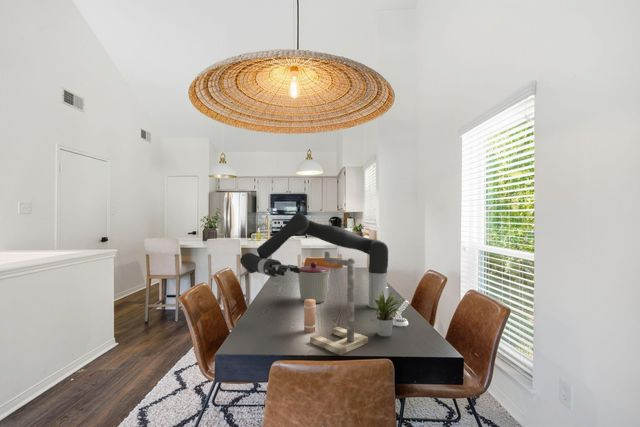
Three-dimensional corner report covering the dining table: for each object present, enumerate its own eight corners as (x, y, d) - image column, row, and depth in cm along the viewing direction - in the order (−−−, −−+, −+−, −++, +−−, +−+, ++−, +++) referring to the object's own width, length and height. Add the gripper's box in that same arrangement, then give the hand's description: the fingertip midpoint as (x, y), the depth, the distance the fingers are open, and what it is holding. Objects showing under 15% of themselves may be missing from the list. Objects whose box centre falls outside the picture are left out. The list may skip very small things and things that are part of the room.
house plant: (396, 345, 111) (396, 299, 111) (360, 337, 118) (360, 293, 118) (407, 333, 123) (408, 291, 123) (374, 326, 130) (374, 286, 130)
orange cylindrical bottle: (312, 328, 127) (312, 298, 127) (317, 331, 123) (317, 301, 123) (301, 330, 125) (302, 299, 125) (307, 333, 121) (307, 302, 121)
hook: (422, 314, 130) (410, 305, 129) (404, 336, 131) (391, 327, 130) (415, 305, 137) (403, 297, 136) (398, 326, 139) (386, 318, 137)
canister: (336, 299, 171) (336, 261, 171) (318, 307, 156) (318, 265, 156) (309, 295, 181) (309, 258, 181) (289, 302, 165) (289, 262, 165)
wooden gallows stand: (310, 342, 113) (310, 253, 113) (338, 331, 123) (338, 250, 124) (340, 355, 103) (340, 257, 103) (368, 342, 113) (368, 253, 113)
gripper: (256, 260, 139) (278, 264, 127) (282, 257, 149) (304, 261, 137) (256, 277, 139) (278, 283, 127) (281, 273, 149) (304, 278, 137)
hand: (292, 272), depth 132 cm, fingers open, 8 cm apart
